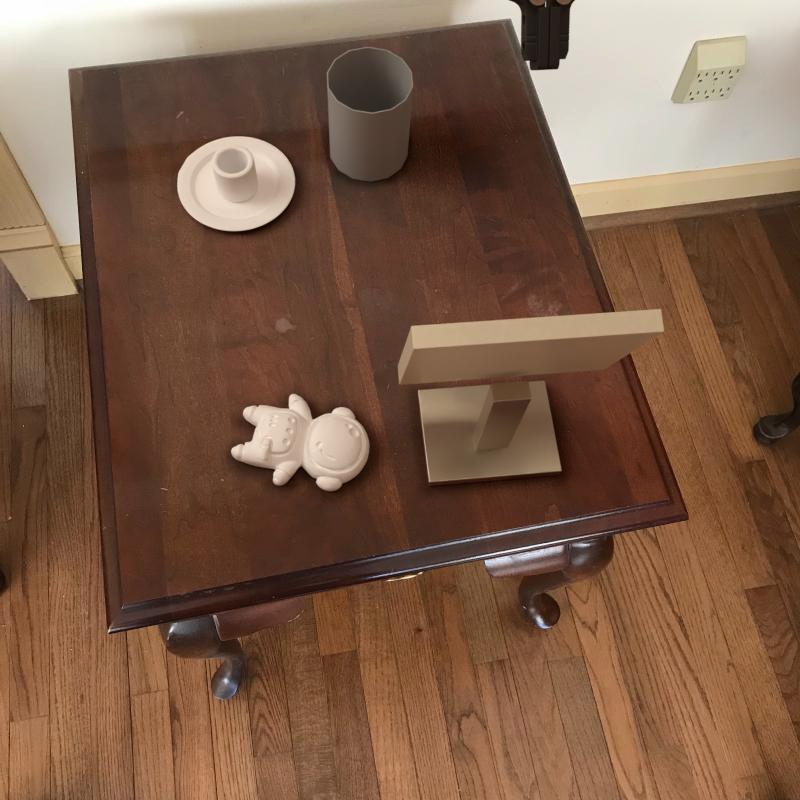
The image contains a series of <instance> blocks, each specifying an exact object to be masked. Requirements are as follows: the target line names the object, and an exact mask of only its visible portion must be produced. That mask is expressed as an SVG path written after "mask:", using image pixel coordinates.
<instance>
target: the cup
mask: <svg viewBox="0 0 800 800" xmlns="http://www.w3.org/2000/svg"><path fill="white" fill-rule="evenodd" d="M326 86H327V91H326V92H327V112H328V113H327V115H328V135H329V136H328V139H329V157H330V160H331V161H332V163H333V164H334V166H335V167H336V169H337V170H338V171H339V172H341V173H343V174H344V175H346V176H348V177H349V178H350V179H352V180H357V181H364V182H368V183H369V182H370V183H371V182H377V181H380V180H385V179H389V178H390V177H391V176H393V175H394V174H396V173H397V172H398V171H400V170H401V169H402V168H403V165H404V163H405V162H406V160H407V158H408V153H409V142H410V131H411V119H412V106H413V94H414V79H413V71H412V70H411V68H410V67H409V65H408V64H407V62H406V61H405V60H404V59H403V58H402V57H400V56H399V55H397V54H395V53H394V52H392V51H390V50H388V49H385V48H379V47H372V46H363V47H359V48H354V49H349V50H347V51H345V52H344V53H342V54H341V55H338V57H336V58H334V60H333V61H332V62H331V65H330V67H328V70H327V72H326Z"/></svg>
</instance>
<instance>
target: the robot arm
mask: <svg viewBox="0 0 800 800" xmlns="http://www.w3.org/2000/svg"><path fill="white" fill-rule="evenodd" d="M508 1H510V2H512V3H515V4H516V5H517V6H518V8H519V10H520V54H521V58H522V60H523V62H528V63H529V70H530V71H550V70H551V71H552V70H558V69H560V61H561V60H566V59H567V56H568V53H569V51H570V25H571V24H570V22H571V21H570V19H571V9H572V8H571V7H572V5H573V3H574V2H575V1H576V0H508Z"/></svg>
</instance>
